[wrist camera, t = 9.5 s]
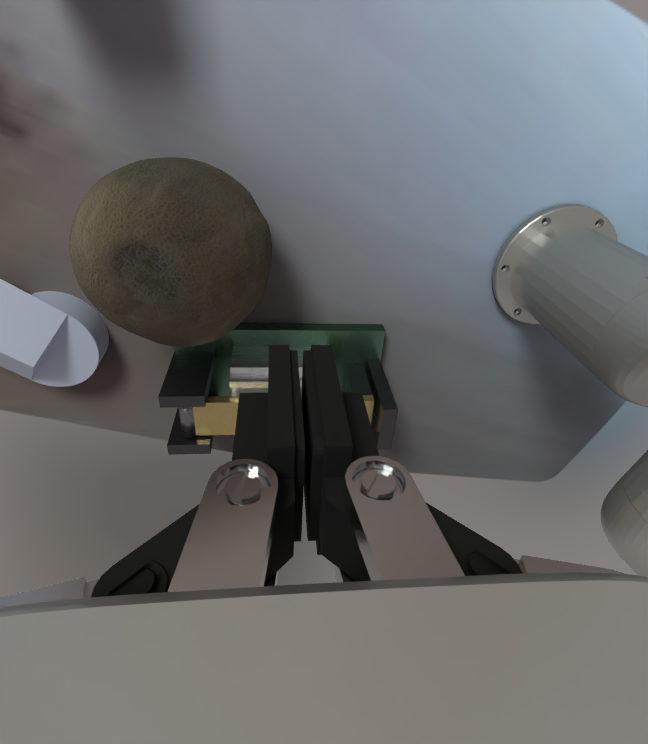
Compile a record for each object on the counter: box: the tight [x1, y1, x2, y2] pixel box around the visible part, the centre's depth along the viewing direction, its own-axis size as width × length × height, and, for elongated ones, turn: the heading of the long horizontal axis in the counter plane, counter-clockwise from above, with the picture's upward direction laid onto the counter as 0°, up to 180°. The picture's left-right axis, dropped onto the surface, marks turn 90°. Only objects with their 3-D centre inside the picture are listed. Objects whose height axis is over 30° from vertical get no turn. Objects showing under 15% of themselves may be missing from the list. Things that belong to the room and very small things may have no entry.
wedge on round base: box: [0, 279, 109, 387], centre depth 43 cm, size 9×7×13 cm
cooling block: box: [158, 323, 398, 454], centre depth 47 cm, size 22×12×10 cm, turn 87°
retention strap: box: [178, 395, 374, 438], centre depth 45 cm, size 19×4×2 cm, turn 87°
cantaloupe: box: [70, 158, 272, 347], centre depth 35 cm, size 14×14×15 cm
